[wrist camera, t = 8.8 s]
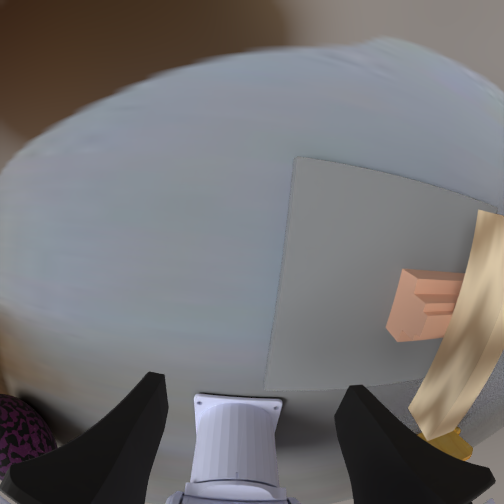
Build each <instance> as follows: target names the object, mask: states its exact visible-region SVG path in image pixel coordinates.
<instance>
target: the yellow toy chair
mask: <svg viewBox="0 0 504 504" xmlns="http://www.w3.org/2000/svg"><path fill="white" fill-rule="evenodd" d="M459 434H460V428H458V427H456V428H455V429H454V430H453V431H452V432H449V433H447V434H444V435H442V436H439V437H437V438H434V439H431V440H429V441H427V440H426V438H425V436H424V434H423V433H420V434H417V435H418V436H419V437H420V438H422V439H423V440H425V441H426V442H428V443H429V444H431V445H432V446H434V447H436V448H437V449H439V450H441V451H443V452H445V453H447V454H449V455H451V456H453V457H455V458H458V459H460V460H463V461H465V460H467V459H469V458H470V457H471V455H472V451H473V448H472V447H471V446H470V445H469V444H468V443H467V442H466V441H465V440H463V439H462V438H461V437H460V436H459Z"/></svg>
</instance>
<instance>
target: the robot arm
mask: <svg viewBox="0 0 504 504" xmlns="http://www.w3.org/2000/svg"><path fill="white" fill-rule="evenodd" d="M199 401H200V402H199ZM194 404H195V420H196V433H197V440H196V447H195V453H194V460H193V466H192V473H191V480H190V483H188V482H187V483H186V486H185V493H184V492H180V491H176V492H175V493H174V494H172V495H171V496H169V497H168V499H167V501H166V503H165V504H301V503H300V502H299V501H298V500H297V499H296V498H294V497H287V494H286V488H280V484H279V475H278V465H277V455H276V446H275V437H274V434H275V430H276V427H277V423H278V419H279V416H280V412H281V408H282V400H280V399H265V398H243V397H228V396H217V395H207V394H196V395H195V397H194ZM276 406H277V407H276ZM168 408H169V407H168V399H167V392H166V383H165V375H164V374H159V373H154V372H148V373H147V374H146V375H145V376H144V377H143V378H142V380H141V381H140V382H139V383H138V384H137V385H136V386H135V387H134V388H133V390H132V391H131V392H130V393H129V394H128V395H127V396H126V397H125V398H124V399H123V400H122V401H121V402H120V403H119V404H118V405H117V406H116V407H115V408H114V409H113V410H111V411H110V412H109V413H108V414H107V415H106V416H105V417H103V418H102V419H101V420H100V421H99V422H98V423H96V424H95V425H94V426H92V427H91V428H90V429H88V430H87V431H86V432H84V433H83V434H81V435H80V436H78V437H77V438H75V439H73V440H72V441H70V442H68V443H67V444H65V445H63V446H61V447H59V448H57V449H55V450H53V451H50V452H48V453H46V454H44V455H41V456H39V457H36V458H33V459H30V460H26V461H23V462H20V463H16V464H12V465H11V466H10V467H9V469H8V470H7V472H6V474H5V476H4V478H3V480H2V482H1V484H0V491H2V492H3V493H4V494H5V495H7V496H8V497H9V498H11V499H12V500H13V501H15V502H16V503H17V504H144V503H145V497H146V491H147V485H148V479H149V476H150V472H151V468H152V465H153V462H154V459H155V456H156V453H157V450H158V447H159V444H160V441H161V438H162V435H163V432H164V428H165V423H166V418H167V413H168ZM334 418H335V425H336V431H337V437H338V440H339V444H340V447H341V450H342V454H343V457H344V460H345V463H346V467H347V470H348V473H349V477H350V481H351V485H352V492H353V499H354V504H472V502H471V501H473V500H474V499H476V498H477V497H478V496H480V495H481V494H482V493H483V492H485V491H486V490H487V489H489V488H490V487H491V486H492V485H493V484H494V483H495V481H496V480H495V478H494V476H493V474H492V473H491V471H490V469H489V468H487V467H483V466H479V465H475V464H471V463H468V462H466V461H463V460H460V459H458V458H455V457H453V456H451V455H449V454H447V453H445V452H443V451H441V450H439V449H437V448H436V447H434V446H432V445H431V444H429V443H428V442H426V441H425V440H423V439H422V438H420V437H419V436H418V435H416V434H415V433H414V432H413V431H411V430H410V429H409V428H408V427H406V426H405V425H404V424H403V423H402V422H401V421H399V420H398V419H397V418H396V417H395V416H394V415H393V414H392V413H391V412H390V411H389V410H388V409H387V408H386V407H385V406H384V405H383V404H382V403H381V402H380V401H379V400H378V399H377V398H376V397H375V396H374V395H373V394H372V393H371V392H370V391H369V390H368V389H367V388H366V387H365V386H364V385H349V387H348V389H347V391H346V394H345V396H344V398H343V400H342V402H341V404H340V406H339V408H338V410H337V412H336V414H335V416H334ZM0 504H11V503H9V502H8V501H7V500H5V499H4V498H3V497H1V496H0ZM484 504H495V502H494V500H493V498H491V499H489V500H488V501H487V502H485V503H484Z"/></svg>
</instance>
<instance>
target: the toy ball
mask: <svg viewBox="0 0 504 504" xmlns="http://www.w3.org/2000/svg"><path fill="white" fill-rule="evenodd" d="M55 449H57V444H56V441H55V438H54V436H53V434H52V432H51V430H50V428H49V427H48V425H47V423H46V422H45V421H44V420H43V418H42V417H41V416H40V415H39V414H38V413H37V412H36V411H35V410H34V409H33V408H32V407H31V406H29V405H28V404H26V403H25V402H23V401H22V400H20V399H18V398H16V397H13V396H10V395H5V394H0V480H3V478H4V476H5V474H6V472H7V470H8V469H9V467H10V466H11V465H12V464H16V463H20V462H23V461H26V460H30V459H33V458H36V457H39V456H41V455H44V454H46V453H48V452H50V451H53V450H55Z"/></svg>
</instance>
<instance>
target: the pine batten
mask: <svg viewBox="0 0 504 504" xmlns="http://www.w3.org/2000/svg"><path fill="white" fill-rule="evenodd" d="M503 349H504V216H502V215H498V214H494V213H490V212H486V211H482V210H478V215H477V221H476V227H475V233H474V238H473V243H472V248H471V252H470V257H469V261H468V265H467V269H466V273H465V276H464V280H463V283H462V287H461V290H460V293H459V296H458V300H457V303H456V306H455V309H454V311H453V314H452V317H451V320H450V322H449V325H448V328H447V330H446V333H445V335H444V338H443V340H442V342H441V345H440V347H439V349H438V351H437V354H436V356H435V358H434V360H433V362H432V364H431V366H430V368H429V371H428V373H427V375H426V376H425V378H424V380H423V382H422V384H421V386H420V388H419V390H418V391H417V393H416V395H415V397H414V399H413V400H412V402H411V404H410V405H409V407H408V409H409V411H410V412H411V414H412V416H413V417H414V419H415V421H416V422H417V424H418V426H419V428H420V429H421V431H422V433H423V434H424V436H425V438H426V440H427V441H429V440H431V439H434V438H437V437H439V436H442V435H444V434H447V433H449V432H452V431H453V430H454V429H455V428H456V427H457V425H458V424H459V423H460V421H461V420H462V418H463V417H464V416H465V414H466V413H467V411H468V410H469V408H470V407H471V405H472V404H473V402H474V401H475V399H476V398H477V396H478V395H479V393H480V391H481V390H482V388H483V387H484V385H485V383H486V381H487V380H488V378H489V376H490V374H491V373H492V371H493V369H494V367H495V365H496V363H497V361H498V359H499V357H500V355H501V353H502V351H503Z"/></svg>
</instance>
